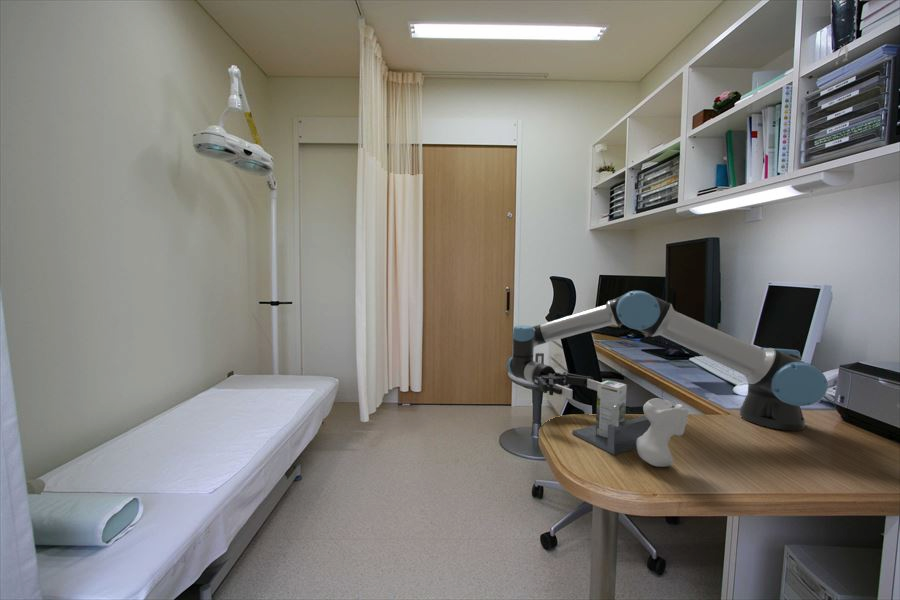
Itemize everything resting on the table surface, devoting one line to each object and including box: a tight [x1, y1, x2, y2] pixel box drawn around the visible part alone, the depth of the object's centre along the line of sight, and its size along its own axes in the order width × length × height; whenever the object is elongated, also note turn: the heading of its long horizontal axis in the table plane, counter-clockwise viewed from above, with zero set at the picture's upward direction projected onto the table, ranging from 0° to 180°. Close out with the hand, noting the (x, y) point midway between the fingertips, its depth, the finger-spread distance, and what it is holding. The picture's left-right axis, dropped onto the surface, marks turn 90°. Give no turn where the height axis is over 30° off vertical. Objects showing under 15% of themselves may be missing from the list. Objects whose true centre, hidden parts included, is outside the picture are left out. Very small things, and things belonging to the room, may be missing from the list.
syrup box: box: [595, 380, 628, 438], centre depth 99 cm, size 6×6×14 cm
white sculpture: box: [636, 397, 689, 468], centre depth 85 cm, size 10×11×15 cm
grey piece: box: [571, 405, 651, 456], centre depth 99 cm, size 14×14×12 cm
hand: (588, 391), depth 106 cm, fingers open, 13 cm apart
